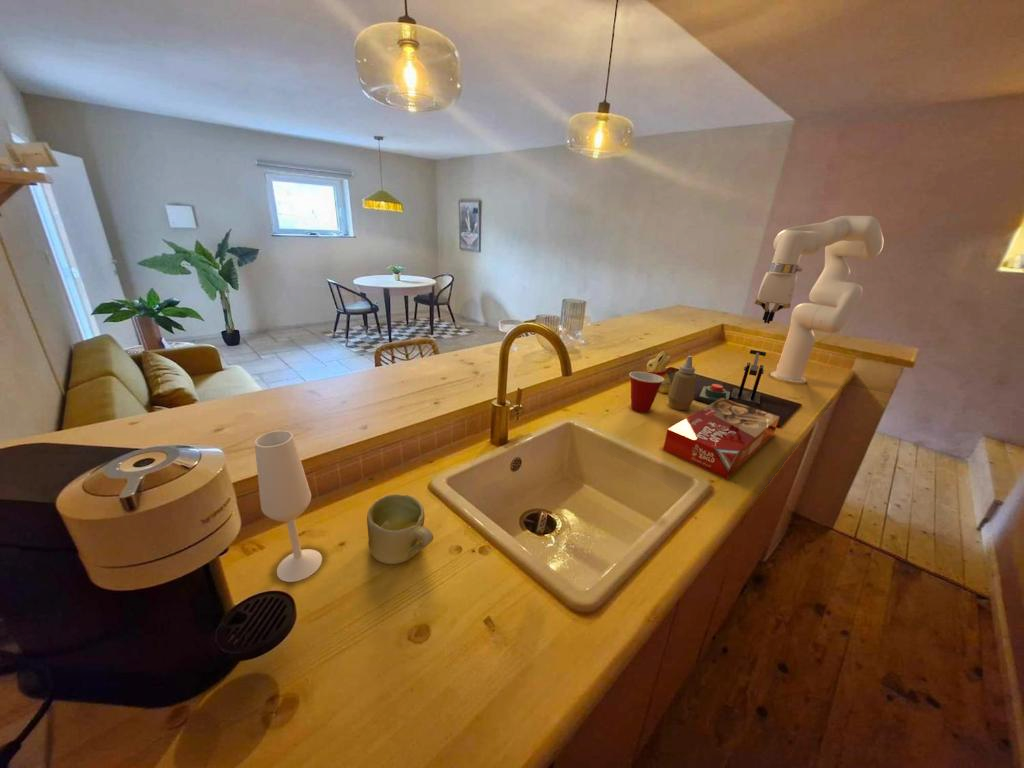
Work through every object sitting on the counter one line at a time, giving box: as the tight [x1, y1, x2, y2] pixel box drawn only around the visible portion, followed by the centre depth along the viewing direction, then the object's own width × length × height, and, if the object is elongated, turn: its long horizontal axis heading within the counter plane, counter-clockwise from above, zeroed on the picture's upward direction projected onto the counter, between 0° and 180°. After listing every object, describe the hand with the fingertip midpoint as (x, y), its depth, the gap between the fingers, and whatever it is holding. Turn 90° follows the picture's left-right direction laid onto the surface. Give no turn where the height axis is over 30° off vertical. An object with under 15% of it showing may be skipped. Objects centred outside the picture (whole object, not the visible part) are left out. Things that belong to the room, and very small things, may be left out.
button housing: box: [698, 385, 731, 404], centre depth 138 cm, size 12×9×4 cm
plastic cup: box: [628, 371, 664, 414], centre depth 126 cm, size 11×11×12 cm
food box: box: [662, 398, 780, 480], centre depth 109 cm, size 35×16×6 cm, turn 132°
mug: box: [366, 493, 434, 565], centre depth 67 cm, size 12×10×10 cm
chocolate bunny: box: [645, 350, 672, 394], centre depth 143 cm, size 7×11×15 cm, turn 38°
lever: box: [748, 349, 767, 377], centre depth 140 cm, size 12×5×2 cm, turn 148°
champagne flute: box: [254, 429, 323, 583], centre depth 60 cm, size 7×7×24 cm
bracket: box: [730, 362, 765, 405], centre depth 139 cm, size 11×9×13 cm
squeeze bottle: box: [667, 355, 697, 411], centre depth 128 cm, size 8×8×18 cm
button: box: [710, 383, 724, 392], centre depth 137 cm, size 4×4×2 cm
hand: (766, 322), depth 139 cm, fingers closed
